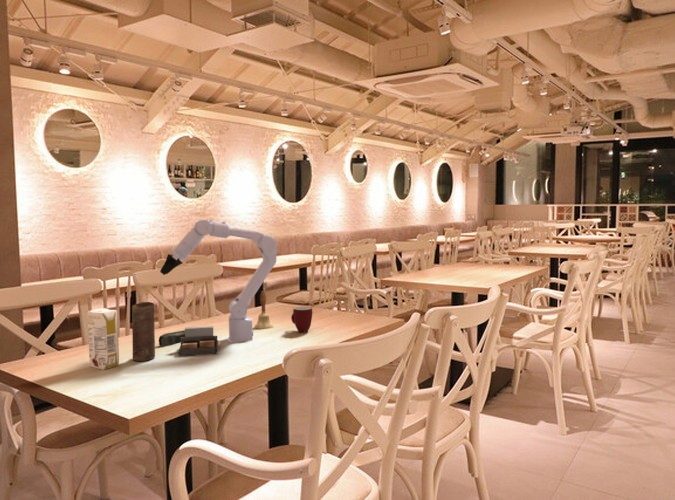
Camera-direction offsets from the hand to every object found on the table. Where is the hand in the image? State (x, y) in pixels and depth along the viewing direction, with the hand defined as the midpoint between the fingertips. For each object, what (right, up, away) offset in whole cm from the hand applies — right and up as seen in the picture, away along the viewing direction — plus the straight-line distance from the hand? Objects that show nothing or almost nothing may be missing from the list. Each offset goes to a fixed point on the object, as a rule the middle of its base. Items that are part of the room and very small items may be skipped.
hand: (163, 273), depth 202 cm
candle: (-1, -30, -17) cm, 34 cm away
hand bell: (+33, -25, +34) cm, 54 cm away
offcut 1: (+13, -28, -11) cm, 33 cm away
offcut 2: (+19, -28, -10) cm, 35 cm away
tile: (+14, -28, +3) cm, 31 cm away
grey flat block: (+15, -28, -5) cm, 32 cm away
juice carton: (-12, -30, -23) cm, 40 cm away
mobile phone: (+3, -28, +4) cm, 29 cm away
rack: (+16, -29, -7) cm, 34 cm away
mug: (+50, -26, +25) cm, 62 cm away
